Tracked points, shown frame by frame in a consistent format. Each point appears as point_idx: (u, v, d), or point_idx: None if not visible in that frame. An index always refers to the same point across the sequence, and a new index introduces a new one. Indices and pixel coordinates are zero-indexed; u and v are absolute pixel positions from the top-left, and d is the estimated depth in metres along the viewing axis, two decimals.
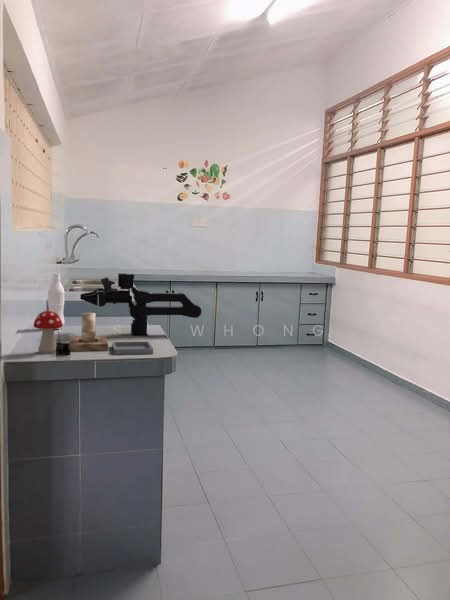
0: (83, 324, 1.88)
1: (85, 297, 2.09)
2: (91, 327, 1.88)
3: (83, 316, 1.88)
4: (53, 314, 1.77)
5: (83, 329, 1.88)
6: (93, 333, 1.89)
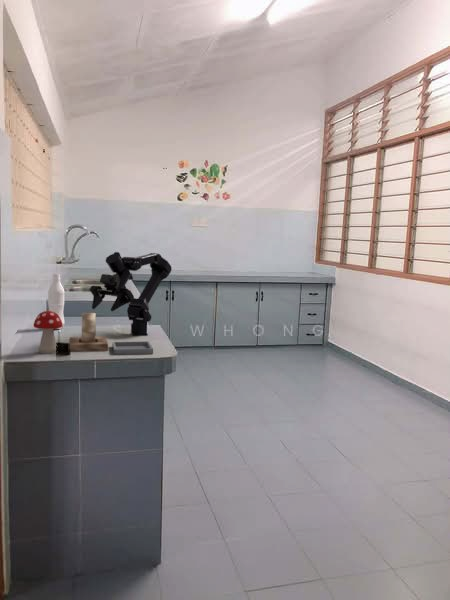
0: (83, 324, 1.88)
1: (114, 306, 1.96)
2: (91, 327, 1.88)
3: (83, 316, 1.88)
4: (53, 314, 1.77)
5: (83, 329, 1.88)
6: (93, 333, 1.89)
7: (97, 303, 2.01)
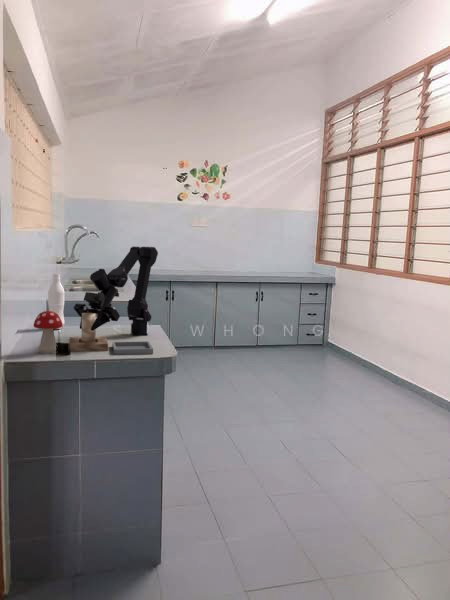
0: (83, 324, 1.88)
1: (95, 325, 1.89)
2: (91, 327, 1.88)
3: (83, 316, 1.88)
4: (53, 314, 1.77)
5: (83, 329, 1.88)
6: (93, 333, 1.89)
7: None
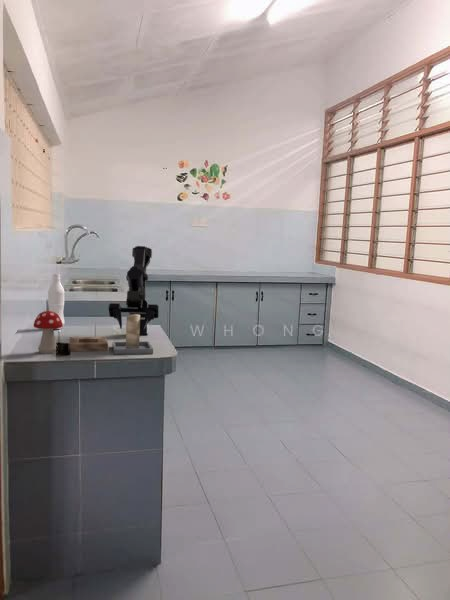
0: (131, 326, 1.85)
1: (145, 324, 1.88)
2: (138, 328, 1.87)
3: (131, 318, 1.85)
4: (53, 314, 1.77)
5: (131, 331, 1.86)
6: (139, 334, 1.88)
7: None
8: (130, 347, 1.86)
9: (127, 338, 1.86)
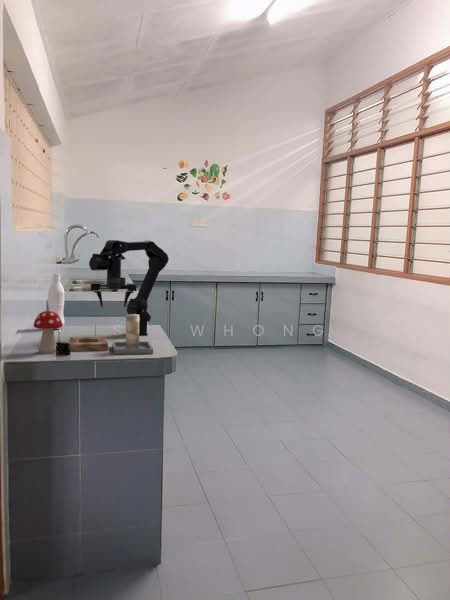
0: (130, 326, 1.85)
1: (125, 303, 2.11)
2: (138, 328, 1.87)
3: (130, 318, 1.85)
4: (53, 314, 1.77)
5: (130, 331, 1.86)
6: (138, 334, 1.88)
7: None
8: (130, 347, 1.86)
9: (127, 338, 1.86)
